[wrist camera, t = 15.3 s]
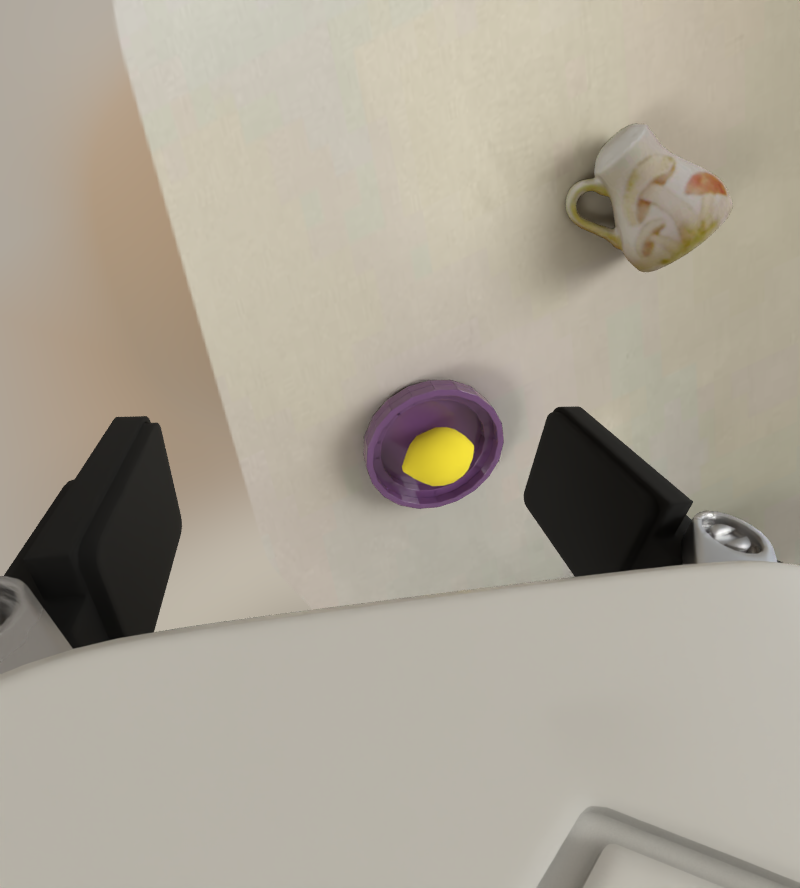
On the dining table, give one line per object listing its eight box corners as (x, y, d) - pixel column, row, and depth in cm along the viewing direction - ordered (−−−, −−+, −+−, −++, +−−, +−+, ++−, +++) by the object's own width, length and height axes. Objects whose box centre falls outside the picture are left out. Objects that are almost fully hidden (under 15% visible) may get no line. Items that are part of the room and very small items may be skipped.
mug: (626, 86, 31) (782, 111, 26) (622, 198, 39) (738, 234, 34) (556, 167, 31) (696, 209, 26) (566, 262, 39) (674, 307, 34)
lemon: (460, 407, 41) (481, 437, 37) (467, 452, 44) (487, 484, 40) (389, 429, 41) (402, 462, 37) (401, 473, 44) (414, 508, 40)
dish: (359, 496, 45) (363, 513, 43) (366, 377, 38) (371, 390, 36) (479, 488, 48) (488, 503, 46) (505, 377, 41) (517, 389, 39)
